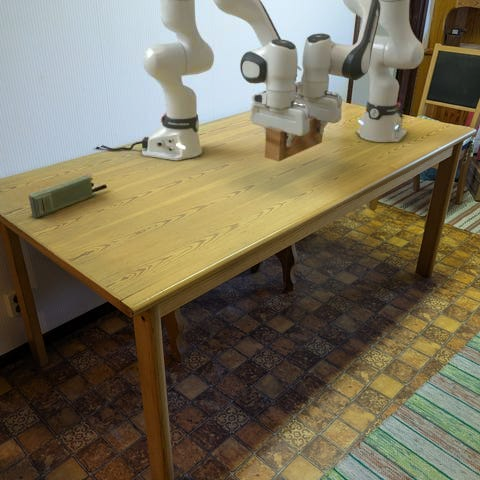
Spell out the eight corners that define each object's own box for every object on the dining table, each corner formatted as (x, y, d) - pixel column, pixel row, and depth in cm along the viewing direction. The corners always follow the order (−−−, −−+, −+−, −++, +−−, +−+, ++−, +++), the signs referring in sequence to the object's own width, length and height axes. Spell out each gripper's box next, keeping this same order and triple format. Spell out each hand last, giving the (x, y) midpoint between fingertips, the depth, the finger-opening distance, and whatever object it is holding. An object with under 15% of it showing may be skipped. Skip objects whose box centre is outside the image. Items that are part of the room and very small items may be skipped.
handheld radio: (30, 215, 144) (102, 188, 161) (37, 219, 142) (109, 191, 159) (26, 193, 140) (100, 168, 157) (33, 197, 138) (107, 171, 155)
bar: (278, 161, 156) (280, 131, 151) (264, 157, 159) (265, 127, 154) (322, 142, 172) (324, 114, 167) (308, 138, 175) (310, 111, 170)
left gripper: (315, 102, 147) (311, 148, 153) (260, 91, 158) (259, 134, 165) (303, 107, 142) (299, 153, 149) (247, 94, 154) (246, 138, 161)
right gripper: (347, 92, 158) (342, 135, 165) (294, 82, 170) (292, 122, 177) (337, 96, 154) (332, 139, 161) (283, 85, 166) (281, 126, 173)
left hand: (278, 143), depth 157 cm, fingers closed on bar, 5 cm apart
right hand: (310, 130), depth 169 cm, fingers open, 6 cm apart
